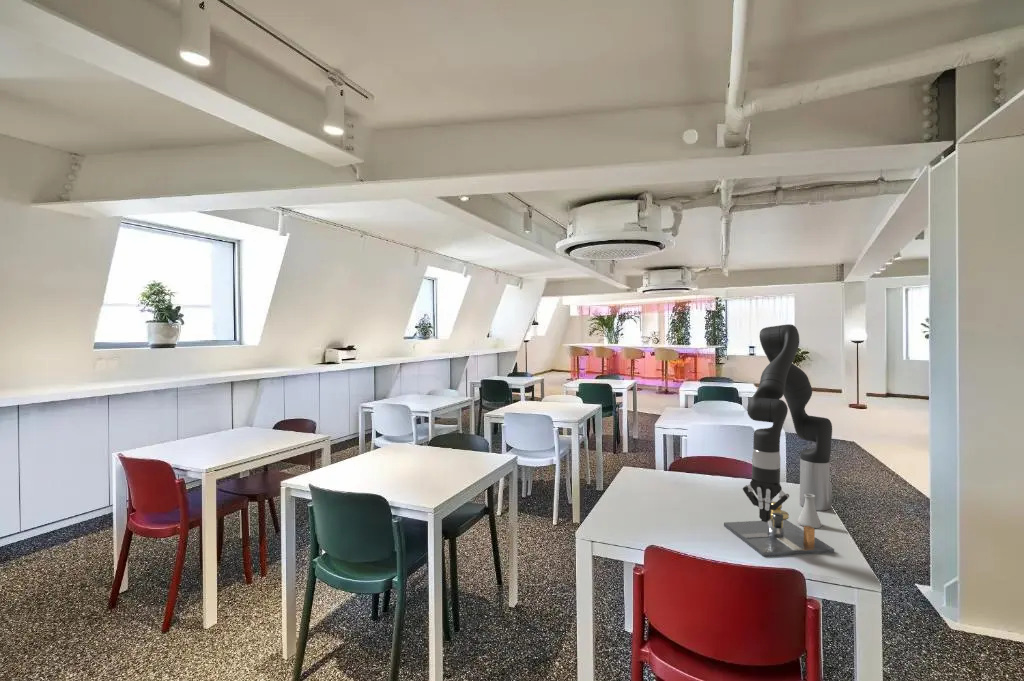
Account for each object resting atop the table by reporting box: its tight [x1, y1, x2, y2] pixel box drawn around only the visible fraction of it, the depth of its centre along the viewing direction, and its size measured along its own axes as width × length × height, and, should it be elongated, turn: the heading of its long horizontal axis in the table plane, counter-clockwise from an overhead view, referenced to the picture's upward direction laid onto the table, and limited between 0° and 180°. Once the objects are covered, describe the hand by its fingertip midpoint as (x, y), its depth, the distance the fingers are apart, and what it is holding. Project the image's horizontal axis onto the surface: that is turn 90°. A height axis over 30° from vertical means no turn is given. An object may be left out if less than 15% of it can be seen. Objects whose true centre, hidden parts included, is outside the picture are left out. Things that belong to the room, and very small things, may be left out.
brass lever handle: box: [771, 501, 790, 529], centre depth 152 cm, size 15×7×4 cm, turn 155°
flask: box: [796, 494, 823, 529], centre depth 167 cm, size 7×7×10 cm
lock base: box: [723, 519, 835, 558], centre depth 156 cm, size 22×22×7 cm
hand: (764, 520), depth 150 cm, fingers closed
